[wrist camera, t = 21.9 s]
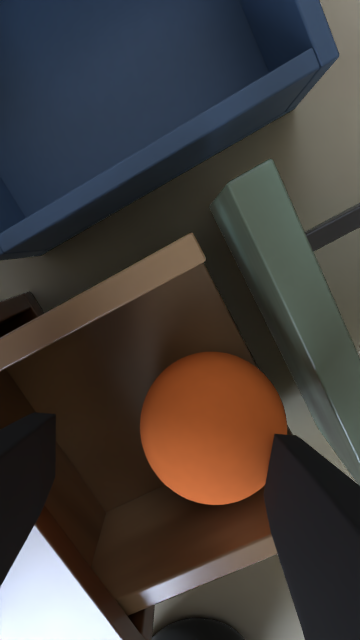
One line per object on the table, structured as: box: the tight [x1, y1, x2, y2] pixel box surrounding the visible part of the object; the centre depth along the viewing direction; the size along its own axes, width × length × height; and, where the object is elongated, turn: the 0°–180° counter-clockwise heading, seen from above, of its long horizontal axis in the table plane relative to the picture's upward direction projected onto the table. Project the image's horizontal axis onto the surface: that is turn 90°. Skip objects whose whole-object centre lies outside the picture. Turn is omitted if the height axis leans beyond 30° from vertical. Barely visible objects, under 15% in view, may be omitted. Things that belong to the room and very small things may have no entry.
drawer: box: [0, 159, 360, 616], centre depth 12 cm, size 17×11×6 cm, turn 118°
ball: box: [140, 352, 287, 505], centre depth 12 cm, size 5×5×5 cm
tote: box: [0, 0, 339, 260], centre depth 11 cm, size 12×9×4 cm
